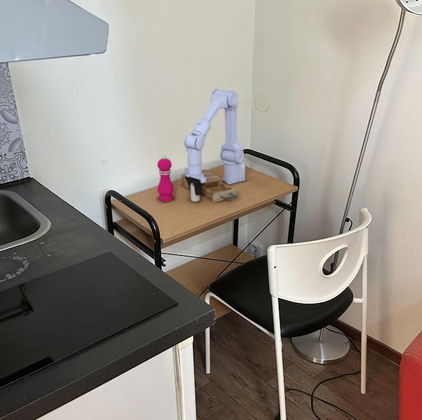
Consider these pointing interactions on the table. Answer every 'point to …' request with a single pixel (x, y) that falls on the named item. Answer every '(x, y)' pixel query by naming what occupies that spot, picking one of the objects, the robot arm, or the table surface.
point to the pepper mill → (165, 180)
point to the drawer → (218, 191)
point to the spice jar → (193, 193)
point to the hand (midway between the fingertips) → (195, 193)
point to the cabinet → (208, 175)
